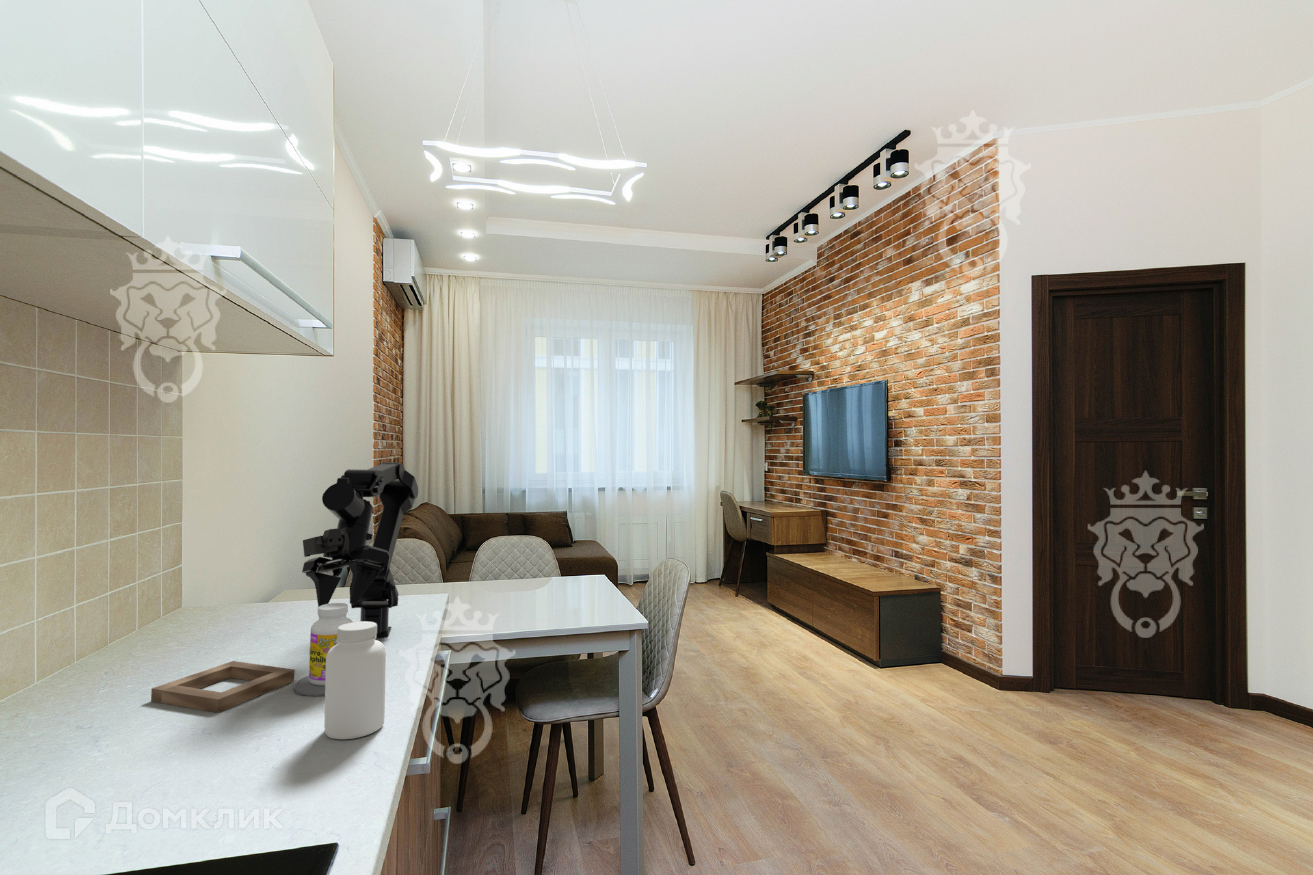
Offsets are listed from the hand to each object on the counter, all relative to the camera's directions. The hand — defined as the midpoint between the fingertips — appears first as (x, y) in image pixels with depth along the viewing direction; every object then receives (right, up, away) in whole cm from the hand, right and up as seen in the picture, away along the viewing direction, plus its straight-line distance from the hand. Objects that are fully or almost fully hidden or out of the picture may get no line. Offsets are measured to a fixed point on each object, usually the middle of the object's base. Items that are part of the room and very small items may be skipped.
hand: (336, 607), depth 116 cm
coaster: (+4, -11, -9) cm, 15 cm away
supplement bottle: (+4, -10, -9) cm, 14 cm away
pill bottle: (+16, -11, -26) cm, 33 cm away
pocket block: (-12, -10, -13) cm, 20 cm away
